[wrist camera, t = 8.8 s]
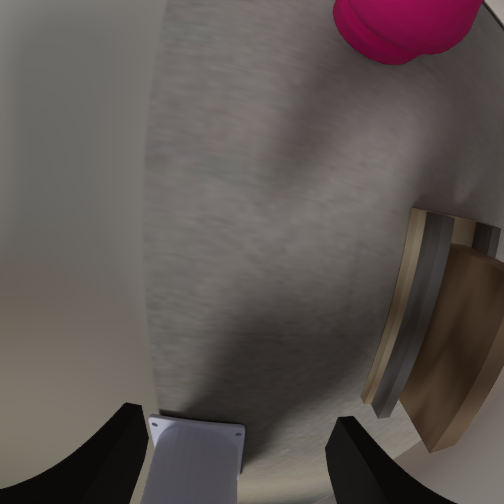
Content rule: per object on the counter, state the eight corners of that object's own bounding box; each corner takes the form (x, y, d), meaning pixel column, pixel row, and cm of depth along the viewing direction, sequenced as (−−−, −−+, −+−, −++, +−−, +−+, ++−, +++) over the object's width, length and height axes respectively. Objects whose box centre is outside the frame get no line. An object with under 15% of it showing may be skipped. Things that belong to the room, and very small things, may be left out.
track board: (427, 387, 21) (440, 406, 18) (360, 396, 21) (371, 419, 18) (481, 221, 17) (505, 229, 14) (411, 207, 17) (435, 214, 14)
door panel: (420, 386, 19) (458, 443, 13) (393, 390, 19) (429, 453, 13) (468, 245, 16) (538, 279, 10) (441, 241, 16) (515, 278, 9)
